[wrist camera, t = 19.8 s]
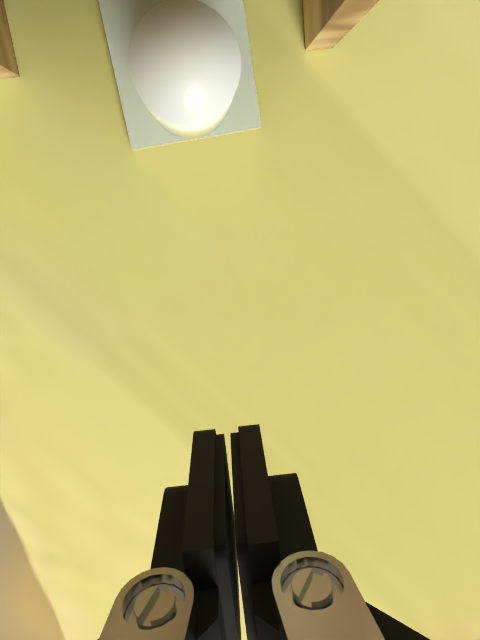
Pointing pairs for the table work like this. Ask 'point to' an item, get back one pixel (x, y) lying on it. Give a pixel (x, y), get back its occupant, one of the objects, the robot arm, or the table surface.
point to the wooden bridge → (319, 27)
